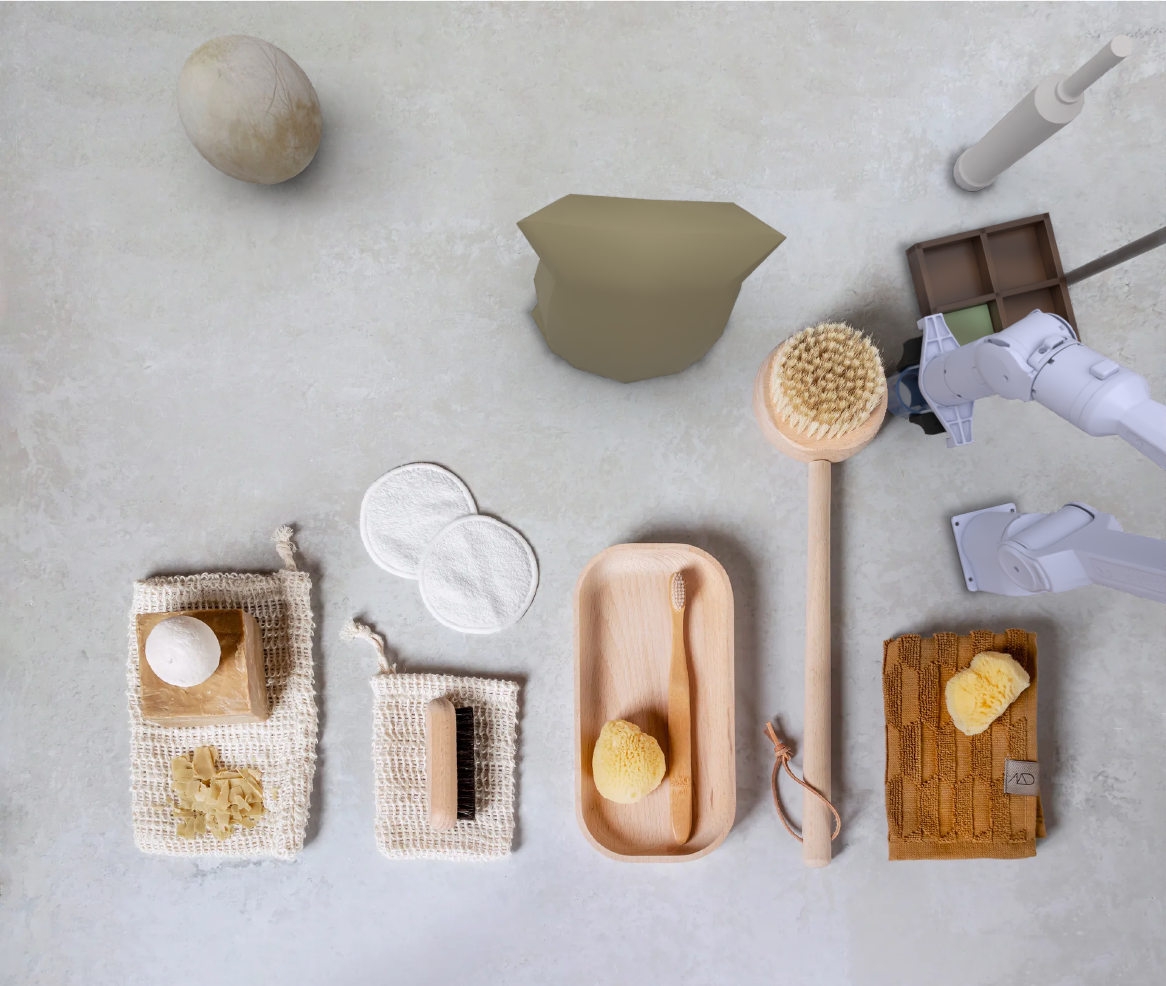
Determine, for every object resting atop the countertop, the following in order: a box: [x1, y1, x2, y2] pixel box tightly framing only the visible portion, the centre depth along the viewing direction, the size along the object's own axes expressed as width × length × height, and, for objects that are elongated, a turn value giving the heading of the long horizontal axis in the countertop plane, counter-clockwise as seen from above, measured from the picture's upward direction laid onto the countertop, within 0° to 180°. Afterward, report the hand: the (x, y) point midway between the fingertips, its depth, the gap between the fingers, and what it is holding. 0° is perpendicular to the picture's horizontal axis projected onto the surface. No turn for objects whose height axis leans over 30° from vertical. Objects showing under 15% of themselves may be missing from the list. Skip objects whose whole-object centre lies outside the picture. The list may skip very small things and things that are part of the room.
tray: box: [905, 211, 1166, 346], centre depth 79 cm, size 17×19×23 cm
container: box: [515, 193, 787, 384], centre depth 75 cm, size 24×17×30 cm
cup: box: [886, 364, 933, 419], centre depth 87 cm, size 6×6×4 cm
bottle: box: [952, 34, 1134, 192], centre depth 78 cm, size 5×5×25 cm
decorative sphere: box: [176, 34, 323, 185], centre depth 82 cm, size 15×15×15 cm
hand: (910, 392), depth 88 cm, fingers closed on cup, 6 cm apart
